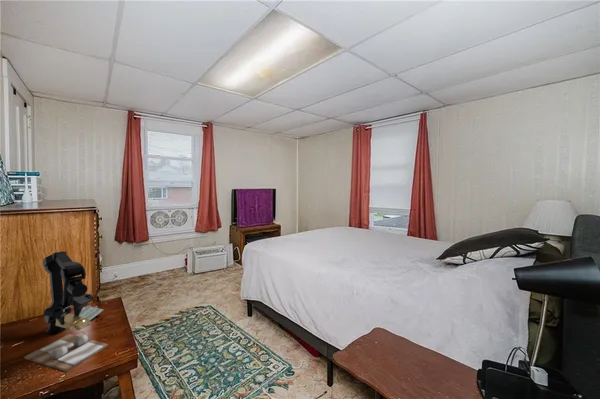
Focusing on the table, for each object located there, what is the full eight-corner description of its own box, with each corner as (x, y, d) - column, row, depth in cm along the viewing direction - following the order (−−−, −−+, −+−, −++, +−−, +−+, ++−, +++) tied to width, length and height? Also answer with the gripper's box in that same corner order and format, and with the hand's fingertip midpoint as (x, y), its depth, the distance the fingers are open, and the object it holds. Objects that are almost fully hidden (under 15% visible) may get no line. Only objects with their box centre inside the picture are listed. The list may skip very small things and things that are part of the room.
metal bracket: (86, 302, 150) (107, 306, 148) (88, 309, 152) (109, 314, 150) (60, 320, 137) (82, 325, 134) (63, 328, 139) (85, 333, 136)
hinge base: (24, 358, 110) (24, 347, 110) (69, 335, 128) (70, 326, 127) (67, 371, 105) (67, 360, 105) (107, 346, 123) (108, 336, 123)
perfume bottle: (55, 325, 119) (56, 317, 119) (68, 319, 125) (69, 311, 125) (78, 332, 117) (79, 323, 117) (91, 325, 123) (91, 317, 123)
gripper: (64, 301, 110) (62, 335, 111) (103, 285, 129) (101, 315, 129) (43, 297, 112) (41, 330, 113) (85, 282, 130) (83, 311, 131)
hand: (69, 321), depth 121 cm, fingers closed on perfume bottle, 6 cm apart
